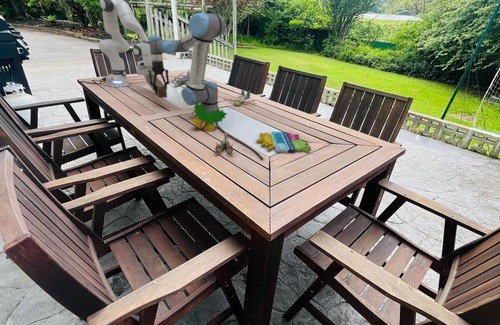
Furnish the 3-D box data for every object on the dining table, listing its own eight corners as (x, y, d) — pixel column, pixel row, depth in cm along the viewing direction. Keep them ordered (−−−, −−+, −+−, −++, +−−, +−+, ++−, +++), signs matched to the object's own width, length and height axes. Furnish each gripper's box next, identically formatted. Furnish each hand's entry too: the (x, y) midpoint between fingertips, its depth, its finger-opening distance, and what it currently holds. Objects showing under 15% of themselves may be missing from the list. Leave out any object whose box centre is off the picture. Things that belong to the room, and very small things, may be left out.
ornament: (218, 133, 171) (224, 110, 169) (221, 134, 163) (227, 111, 161) (186, 125, 162) (192, 101, 160) (189, 126, 155) (195, 101, 153)
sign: (313, 150, 142) (258, 149, 139) (312, 153, 143) (258, 152, 140) (301, 132, 164) (254, 130, 161) (301, 134, 165) (254, 133, 162)
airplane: (164, 79, 274) (163, 69, 268) (194, 77, 287) (193, 68, 282) (173, 89, 245) (172, 78, 240) (205, 86, 258) (205, 76, 253)
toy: (261, 91, 228) (254, 99, 202) (261, 99, 231) (253, 108, 205) (231, 87, 233) (220, 95, 207) (230, 95, 236) (219, 104, 210)
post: (167, 97, 186) (166, 86, 183) (159, 98, 184) (157, 87, 180) (153, 81, 227) (152, 72, 223) (146, 81, 224) (145, 72, 221)
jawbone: (234, 135, 144) (233, 125, 135) (233, 160, 138) (232, 151, 129) (217, 135, 144) (216, 125, 135) (216, 160, 138) (214, 150, 129)
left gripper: (161, 62, 219) (162, 78, 225) (135, 62, 210) (137, 79, 216) (162, 63, 214) (164, 80, 221) (136, 63, 205) (138, 81, 212)
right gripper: (170, 59, 186) (172, 92, 197) (142, 59, 178) (146, 93, 190) (172, 61, 180) (174, 94, 191) (143, 61, 172) (147, 96, 184)
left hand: (150, 80), depth 218 cm, fingers closed on post, 5 cm apart
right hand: (160, 94), depth 190 cm, fingers closed on post, 6 cm apart
